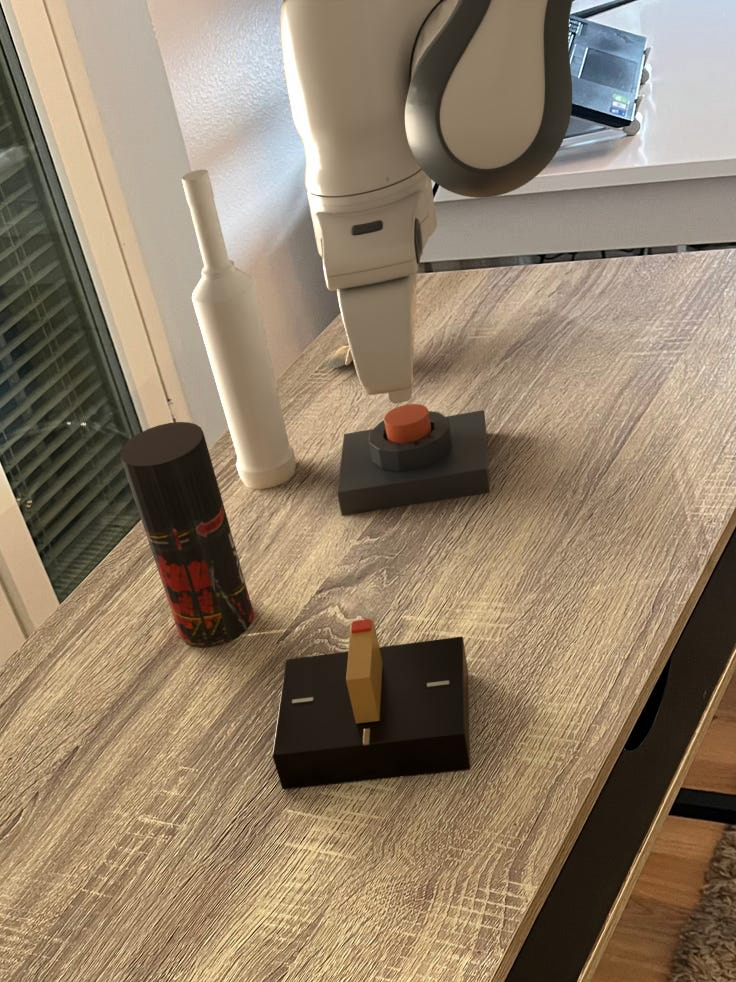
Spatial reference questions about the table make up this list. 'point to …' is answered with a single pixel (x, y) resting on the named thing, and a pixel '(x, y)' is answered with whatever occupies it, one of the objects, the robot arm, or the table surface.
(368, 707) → the lock knob
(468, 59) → the robot arm
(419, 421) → the bell button
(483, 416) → the bell box
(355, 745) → the black flat block
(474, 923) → the table surface
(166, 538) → the deodorant
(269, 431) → the bottle
